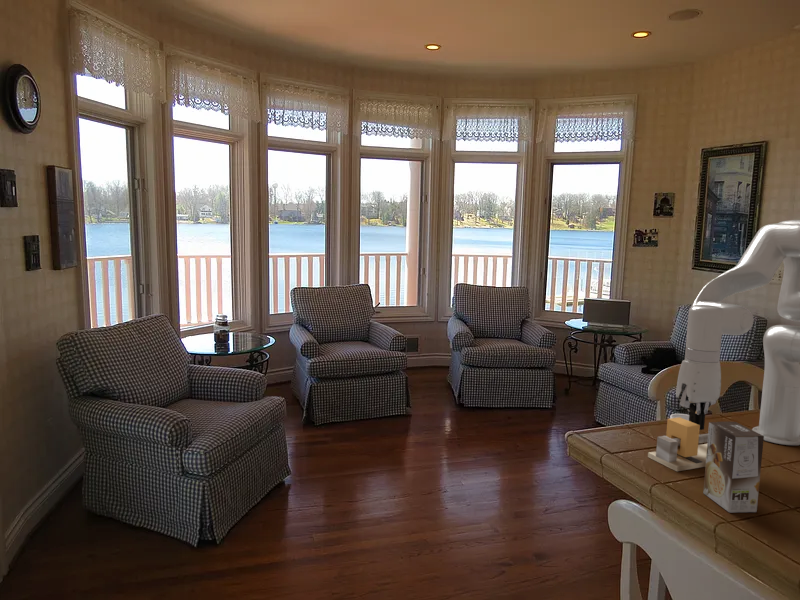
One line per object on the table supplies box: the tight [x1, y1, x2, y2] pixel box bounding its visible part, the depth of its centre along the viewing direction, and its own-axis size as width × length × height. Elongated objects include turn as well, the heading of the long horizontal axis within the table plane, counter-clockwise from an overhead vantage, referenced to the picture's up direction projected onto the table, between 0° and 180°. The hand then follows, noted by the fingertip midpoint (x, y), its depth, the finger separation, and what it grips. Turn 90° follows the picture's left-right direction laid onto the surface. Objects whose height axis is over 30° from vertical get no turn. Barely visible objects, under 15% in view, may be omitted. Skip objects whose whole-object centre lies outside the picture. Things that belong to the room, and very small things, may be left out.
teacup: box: [669, 413, 701, 432], centre depth 157 cm, size 10×8×5 cm
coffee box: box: [703, 421, 765, 513], centre depth 119 cm, size 9×6×16 cm
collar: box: [665, 417, 701, 457], centre depth 140 cm, size 4×6×8 cm, turn 21°
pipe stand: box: [647, 433, 708, 472], centre depth 142 cm, size 20×9×6 cm, turn 111°
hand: (696, 428), depth 141 cm, fingers closed
